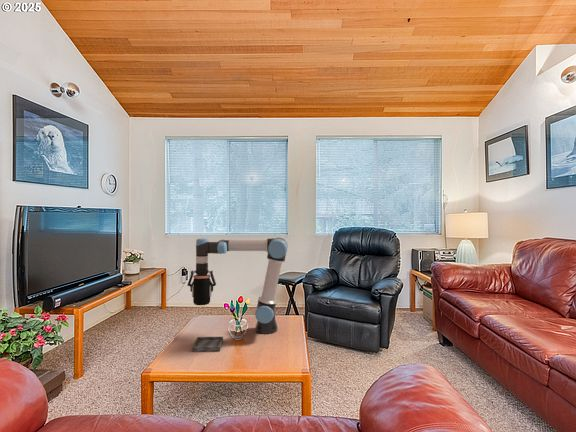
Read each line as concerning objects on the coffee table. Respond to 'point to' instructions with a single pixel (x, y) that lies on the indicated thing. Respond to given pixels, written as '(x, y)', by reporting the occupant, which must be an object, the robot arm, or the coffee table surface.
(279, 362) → the coffee table surface
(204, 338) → the jar stand
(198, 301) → the coffee jar
